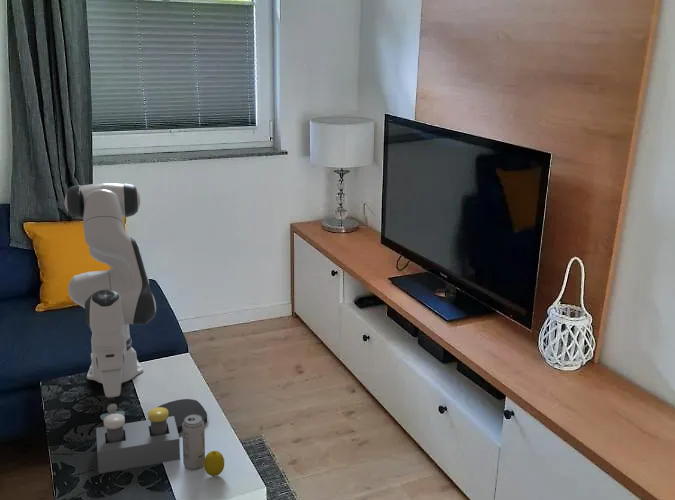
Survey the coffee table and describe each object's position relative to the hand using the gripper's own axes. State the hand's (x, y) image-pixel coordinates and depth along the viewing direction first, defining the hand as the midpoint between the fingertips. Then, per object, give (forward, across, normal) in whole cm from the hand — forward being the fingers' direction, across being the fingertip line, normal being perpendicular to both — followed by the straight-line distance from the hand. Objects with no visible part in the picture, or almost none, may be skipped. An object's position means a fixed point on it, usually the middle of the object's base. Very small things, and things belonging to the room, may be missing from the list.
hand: (112, 393), depth 183 cm
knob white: (+19, +1, 0) cm, 19 cm away
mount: (+21, +1, +6) cm, 22 cm away
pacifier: (+22, -20, 0) cm, 29 cm away
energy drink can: (+21, +10, +20) cm, 31 cm away
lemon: (+21, +17, +25) cm, 36 cm away
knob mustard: (+19, +1, +12) cm, 23 cm away
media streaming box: (+22, -14, +20) cm, 33 cm away
